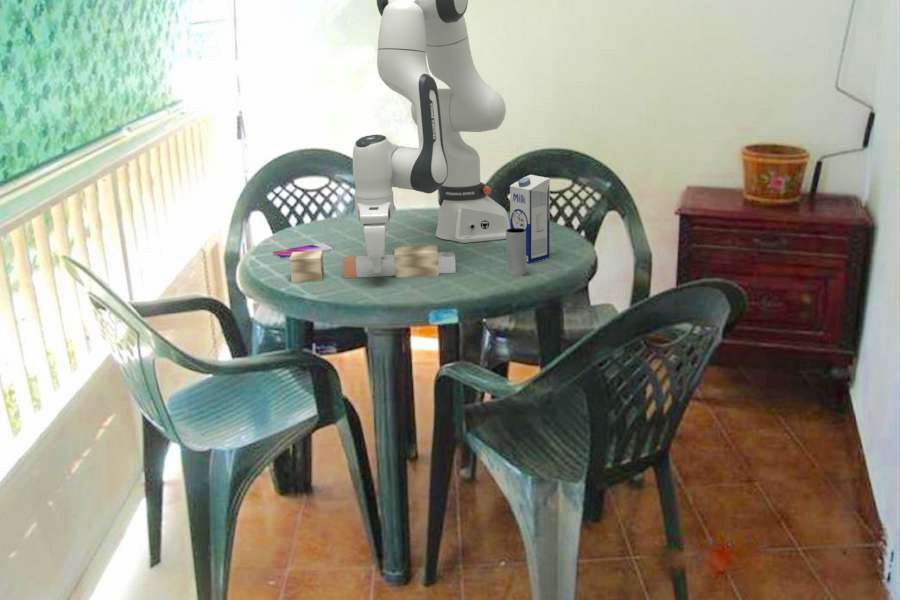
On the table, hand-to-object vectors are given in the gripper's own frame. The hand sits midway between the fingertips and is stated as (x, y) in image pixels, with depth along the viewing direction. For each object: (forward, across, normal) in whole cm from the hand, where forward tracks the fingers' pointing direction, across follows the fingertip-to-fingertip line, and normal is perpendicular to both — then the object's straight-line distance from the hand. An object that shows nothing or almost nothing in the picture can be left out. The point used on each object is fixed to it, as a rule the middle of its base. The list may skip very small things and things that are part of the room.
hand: (378, 266), depth 197 cm
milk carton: (+2, -8, +37) cm, 38 cm away
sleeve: (+2, 0, +9) cm, 9 cm away
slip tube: (+2, 0, +5) cm, 5 cm away
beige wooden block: (+2, 0, -16) cm, 17 cm away
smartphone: (+3, -24, -20) cm, 32 cm away
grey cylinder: (+2, +4, +32) cm, 32 cm away
